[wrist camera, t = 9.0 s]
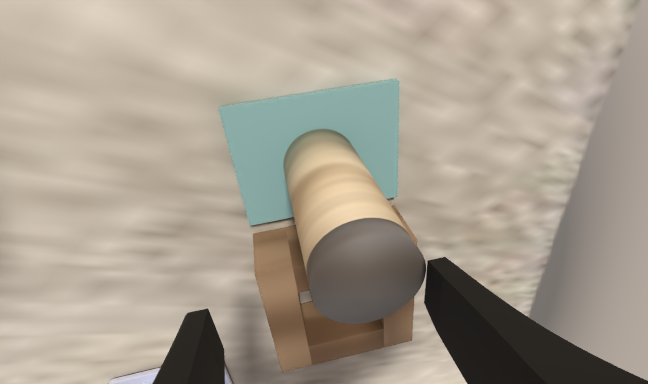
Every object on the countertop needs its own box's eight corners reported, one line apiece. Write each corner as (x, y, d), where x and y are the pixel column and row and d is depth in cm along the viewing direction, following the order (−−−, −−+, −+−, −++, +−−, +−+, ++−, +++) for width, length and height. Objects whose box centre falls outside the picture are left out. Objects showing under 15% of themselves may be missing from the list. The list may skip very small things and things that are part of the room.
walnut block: (393, 301, 28) (411, 340, 25) (277, 328, 27) (282, 372, 24) (394, 205, 23) (417, 240, 20) (253, 233, 22) (255, 274, 19)
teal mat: (394, 192, 22) (397, 196, 22) (249, 220, 21) (249, 225, 21) (395, 78, 18) (399, 81, 18) (219, 106, 17) (219, 109, 17)
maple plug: (357, 187, 21) (423, 309, 13) (289, 200, 20) (318, 334, 13) (353, 122, 19) (428, 224, 11) (277, 136, 18) (303, 251, 11)
